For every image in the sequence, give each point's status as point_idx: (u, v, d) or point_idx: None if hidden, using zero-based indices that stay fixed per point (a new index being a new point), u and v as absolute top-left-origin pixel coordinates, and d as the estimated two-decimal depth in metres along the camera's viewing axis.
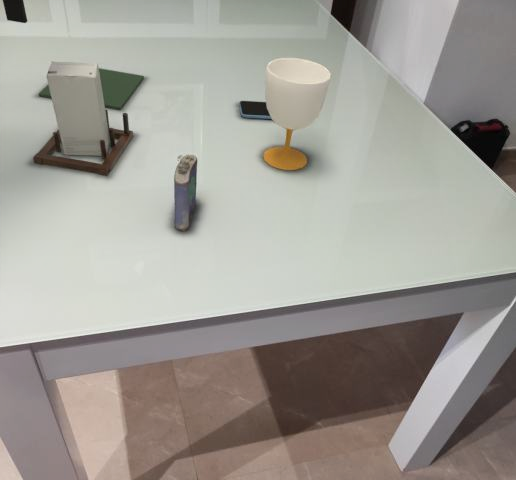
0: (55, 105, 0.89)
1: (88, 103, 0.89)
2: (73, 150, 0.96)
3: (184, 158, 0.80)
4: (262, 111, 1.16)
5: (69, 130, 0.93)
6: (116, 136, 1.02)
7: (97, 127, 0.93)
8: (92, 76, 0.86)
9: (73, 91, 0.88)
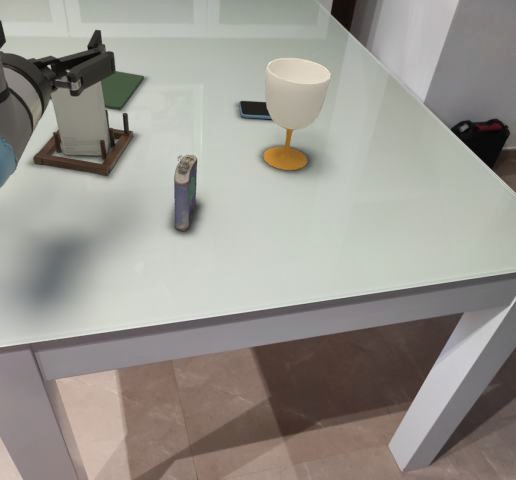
0: (55, 105, 0.89)
1: (88, 103, 0.89)
2: (73, 150, 0.96)
3: (184, 158, 0.80)
4: (262, 111, 1.16)
5: (69, 130, 0.93)
6: (116, 136, 1.02)
7: (97, 127, 0.93)
8: None
9: None
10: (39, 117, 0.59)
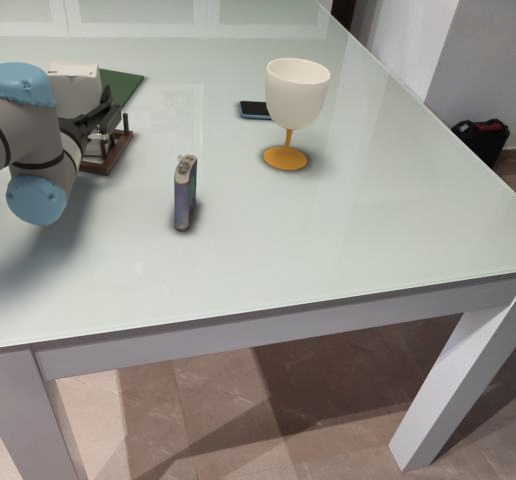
0: None
1: (88, 103, 0.89)
2: None
3: (184, 158, 0.80)
4: (262, 111, 1.16)
5: None
6: (116, 136, 1.02)
7: None
8: (92, 76, 0.86)
9: (73, 90, 0.88)
10: (79, 165, 0.80)
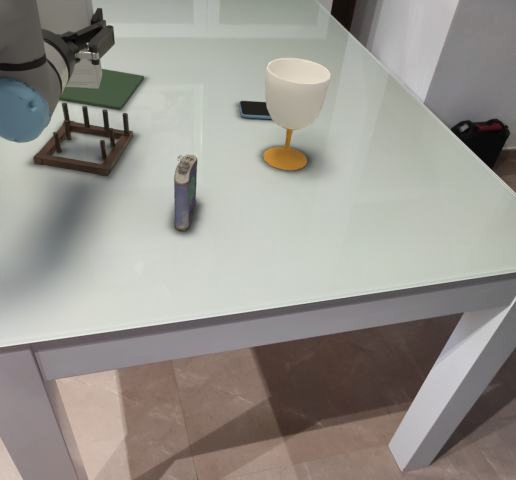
0: None
1: (77, 23, 0.80)
2: None
3: (184, 158, 0.80)
4: (262, 111, 1.16)
5: None
6: (116, 136, 1.02)
7: None
8: None
9: (60, 7, 0.78)
10: (66, 83, 0.71)
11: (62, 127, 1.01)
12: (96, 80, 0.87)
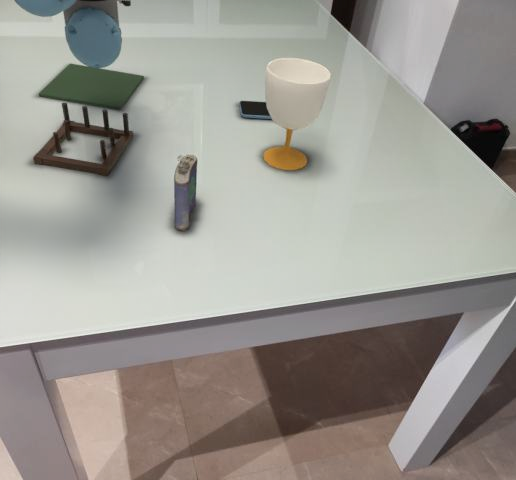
0: None
1: None
2: None
3: (184, 158, 0.80)
4: (262, 111, 1.16)
5: None
6: (116, 136, 1.02)
7: None
8: None
9: None
10: None
11: (62, 127, 1.01)
12: None
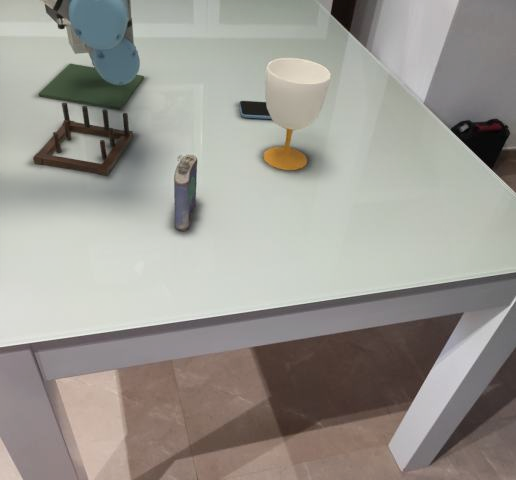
0: None
1: None
2: (83, 48, 1.08)
3: (184, 158, 0.80)
4: (262, 111, 1.16)
5: None
6: (116, 136, 1.02)
7: None
8: None
9: None
10: None
11: (62, 127, 1.01)
12: None
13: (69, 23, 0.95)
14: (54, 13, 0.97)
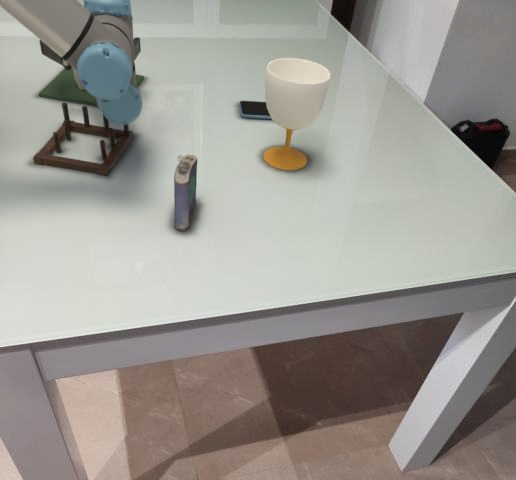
0: None
1: None
2: None
3: (184, 158, 0.80)
4: (262, 111, 1.16)
5: None
6: (116, 136, 1.02)
7: None
8: None
9: None
10: None
11: (62, 127, 1.01)
12: None
13: None
14: (57, 55, 1.01)
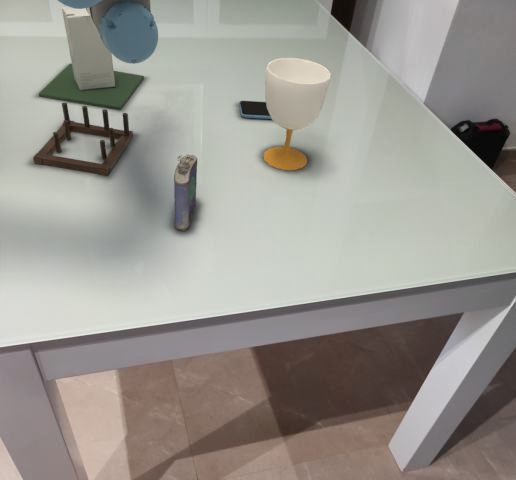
0: (74, 44, 1.06)
1: (101, 39, 1.08)
2: (88, 85, 1.13)
3: (184, 158, 0.80)
4: (262, 111, 1.16)
5: (85, 66, 1.10)
6: (116, 136, 1.02)
7: (107, 60, 1.11)
8: None
9: (89, 29, 1.05)
10: None
11: (62, 127, 1.01)
12: (113, 80, 1.15)
13: None
14: None
